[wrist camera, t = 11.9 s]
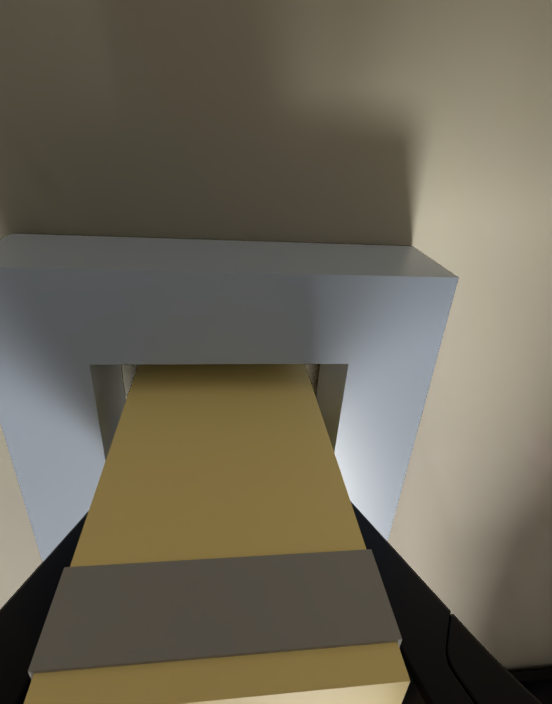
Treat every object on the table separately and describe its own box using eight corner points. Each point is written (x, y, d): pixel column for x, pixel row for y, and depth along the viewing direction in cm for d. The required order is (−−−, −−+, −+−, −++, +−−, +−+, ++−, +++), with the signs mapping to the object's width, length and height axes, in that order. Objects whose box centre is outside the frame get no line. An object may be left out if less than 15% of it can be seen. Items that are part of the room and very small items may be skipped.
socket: (412, 246, 11) (459, 277, 9) (357, 511, 15) (378, 574, 13) (11, 233, 10) (-48, 266, 8) (77, 524, 14) (52, 595, 12)
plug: (299, 341, 12) (415, 677, 5) (288, 458, 14) (358, 818, 7) (143, 341, 11) (11, 718, 4) (155, 462, 13) (78, 857, 6)
